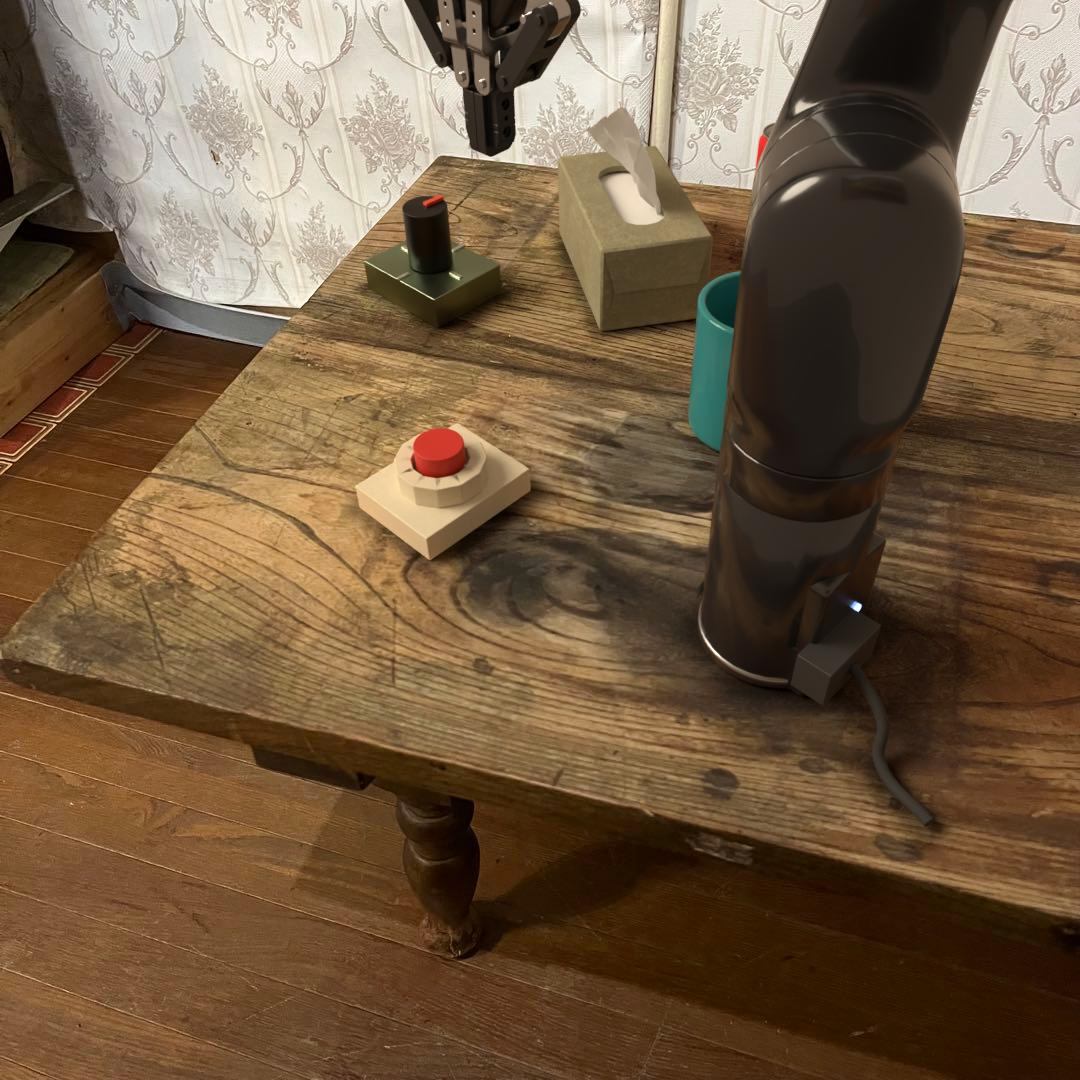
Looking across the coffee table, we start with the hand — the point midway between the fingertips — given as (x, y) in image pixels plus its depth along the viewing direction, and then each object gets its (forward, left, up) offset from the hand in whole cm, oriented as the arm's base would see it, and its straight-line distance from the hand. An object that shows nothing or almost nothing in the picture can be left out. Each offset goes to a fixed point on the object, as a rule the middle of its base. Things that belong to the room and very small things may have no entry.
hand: (492, 149), depth 62 cm
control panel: (+24, -12, -25) cm, 37 cm away
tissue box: (+12, -27, -25) cm, 39 cm away
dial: (+24, -12, -22) cm, 35 cm away
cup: (-11, -15, -25) cm, 31 cm away
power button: (+1, +6, -21) cm, 22 cm away
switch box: (+1, +6, -25) cm, 26 cm away
